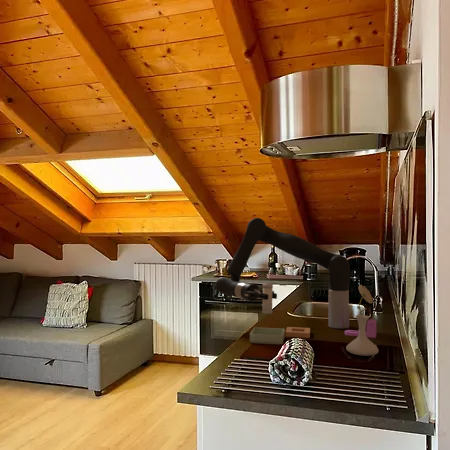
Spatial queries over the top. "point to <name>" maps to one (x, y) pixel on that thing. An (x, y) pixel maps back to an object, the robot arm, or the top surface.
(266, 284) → the cylinder
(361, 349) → the flower in vase
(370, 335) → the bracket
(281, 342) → the tray
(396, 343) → the top surface
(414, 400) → the top surface
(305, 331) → the fuse holder
